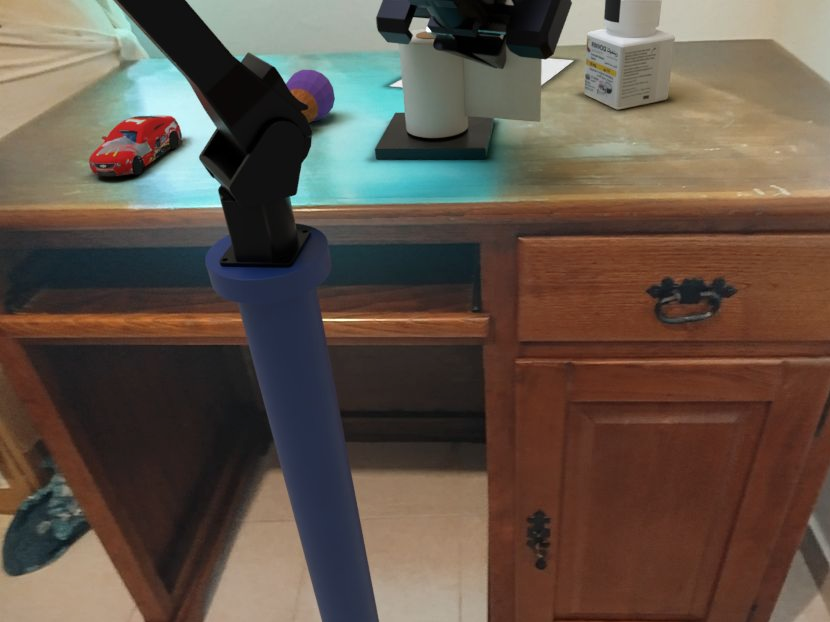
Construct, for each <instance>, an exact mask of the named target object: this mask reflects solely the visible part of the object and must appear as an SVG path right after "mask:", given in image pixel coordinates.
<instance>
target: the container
mask: <svg viewBox="0 0 830 622" xmlns="http://www.w3.org/2000/svg"><path fill="white" fill-rule="evenodd" d="M662 3H663V0H604V13H603V14H604V16H603V27H605V28H602V29H595V30H590V31H588V32H587V34H586V47H585V48H586V49H585V64H584V65H585V67H584V84H583V85H584V86H583V94H584V95H585V96H587V97H590V98H591V99H593V100H595V101H598V102H600V103H602V104H605V105H606V106H608V107H610V108H612V109H615V110H617V111H618V110H619V111H620V110H622V109H623V110H624V109H629V108H633V107H638V106H643V105H648V104H653V103H658V102H662V101H666V100H668V98H669V89H670V82H671V75H672V73H671V72H672V66H673V57H674V49H675V41H676V40H675V39H676V36H675V35H674V34H672V33H669V32H665V31H663V30H659V29H657V28H659V26H660V20H661V12H662V11H661V10H662Z"/></svg>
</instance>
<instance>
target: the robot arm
mask: <svg viewBox="0 0 830 622" xmlns="http://www.w3.org/2000/svg"><path fill="white" fill-rule="evenodd" d="M112 1H113V2H114V3H115V4H116V6H118V8H120V9H121V10H122V12H123V13H124V14H125V15H126V16H127V17H128V18H129V19H130V20H131V21H132V22H133V24H135V26H136V27H137V28H138V29H139V30H140V31H141V32H142V33H143V34H144V35H145V36H146V38H147V39H149V40H150V42H151V43H153V45H154V46H155V47H156V48H157V49H158V50H159V51H160V53H162V55H163V56H165V58H167V60H168V61H169V62H170V63H171V64H172V65H173V66H174V67H175V69H176V70H177V71H178V72H179V73H180V74H181V75H182V76H183V77H184V78H185V79H186V81H187V82H188V84H189V86H190V87H191V89H192V91H193V92H194V94H195V97H196V98H197V100H198V101H199V103H200V105H201V107H202V108H203V110H204V111H205V113H206V114H207V116H208V117H209V119H210V120H211V122H212V123H213V124H214V126H215V127H216V128H215V130H214V131H213V133H212V135H211V137H210V138H209V140H208V141H207V143H206V144H205V146H204V147H203V149H202V150H201V152H200V153H199V155H198V159H199V161H200V163H201V164H202V165H203V167H204V169H205V170H206V172H207V173H208V174H209V176H210V177H211V178H212V179H215V180H216V182H218V184H219V187H218V189H217V192H218V196H219V200H220V204H221V209H222V213H223V216H224V220H225V224H226V227H227V228H226V229H227V232H228V235H229V236H230V240H231V243H232V244H231V246H230V247H229V248H228V250H227V251H226V252H225V253H224V255H223V256H222V257H221V259H220V260H219V262H220V265H221V266H222V267H263V268H289V267H292V266H293V265H294V263H295V261H296V260H297V258H298V256H299V255H300V253H301V251H302V250H303V248H304V246H305V245H306V243H307V241H308V240H309V238H310V237H311V231H310V230H309V229H296V225H295V223H296V221H295V220H296V219H295V215H294V210H293V205H292V201H291V197H294V196H296V195H297V194H298V189H299V183H300V177H301V170H302V164H303V163H304V161H305V160H306V159H307V157H308V155H309V153H310V150H311V147H312V138H313V135H314V132H313V128H312V125H311V122H309V121H308V120H307V118H306V116H305V115H304V114H303V113H302V112H301V111H304V110H308V105H306V104H305V103H303V102H301V101H300V100H298V99H297V98H296V97H295V96H293V95H292V93H291V92H290V90H289V89H288V87H287V85H286V83H287V82H285V79H284V77H282V75H281V73H280V72H279V71H278V70H277V68H276V67H275V66H274V65H272V64H271V63H269V62H266V61H265V60H263V59H261V58H260V57H258V56H256V55H255V54H253V53H251V52H247V53H246V54H245V56H244V57H243V58H242V60H241V61H240V60H239V59H238V58H237V57H235V56H234V54H232V53H231V51H230V50H229V49H228V48H227V47H226V46H225V45H224V43H223V42H222V41H221V40H220V39H219V38H218V37H217V35H216V34H215V33H214V32H213V31H212V29H211V28H210V27H209V26H208V25H207V23H206V22H205V21H204V20H203V19H202V18H201V16H200V15H199V14H198V13H197V12H196V10H195V9H194V8H193V7H192V6H191V5H190V3H189V2H188V1H187V0H112ZM572 5H573V2H572V0H382V1H381V3H380V6H379V9H378V11H377V14H376V17H375V22H376V23H375V24H376V29H377V32H378V33H379V34H380V36H381V37H382V38H383V39H384V40H385V41H386V42H387V43H388V44H389V43H390V44H391V43H392V44H398V45H399V44H409V43H410V41H411V39H412V37H413V34H412V33H411V32H410V31H411V30H410V27H411V24H412V22H413V19H414V18H415V19H428V23H427V25H426V27H425V29H426V32H427V33H428V34H432V35H433V36H434V38H435V40H434V42H433V47H434V48H435V49H436V50H438V51H443V52H447V53H450V54H453V55H456V56H459V57H463V58H466V59H469V60H472V61H475V62H478V63H481V64H484V65H486V66H489V67H492V68H499V69H503V68H504V66H505V63H506V45H507V47H508V49H509V50H510V51H511V52H513V53H514V54H516V55H518V56H520V57H526V58H536V59H545V60H546V59H547V58H550V57H552V56H554V54H555V53H556V49H557V46H558V43H559V41H560V37H561V35H562V32H563V30H564V27H565V24H566V21H567V20H568V16H569V13H570V10H571V7H572Z"/></svg>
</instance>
